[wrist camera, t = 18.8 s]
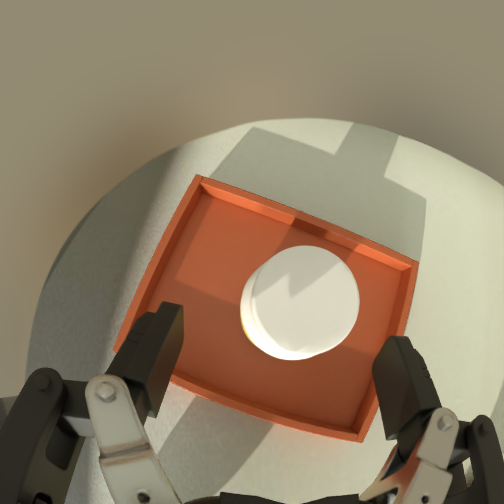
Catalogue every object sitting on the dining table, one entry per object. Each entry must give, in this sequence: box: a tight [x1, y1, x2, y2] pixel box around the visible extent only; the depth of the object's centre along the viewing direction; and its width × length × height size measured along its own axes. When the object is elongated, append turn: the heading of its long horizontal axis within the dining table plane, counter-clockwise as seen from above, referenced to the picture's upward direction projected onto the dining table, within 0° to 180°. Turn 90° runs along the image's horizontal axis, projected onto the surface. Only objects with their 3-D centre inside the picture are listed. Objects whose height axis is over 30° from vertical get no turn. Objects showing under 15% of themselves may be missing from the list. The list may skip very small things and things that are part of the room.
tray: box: [113, 174, 419, 443], centre depth 17 cm, size 17×13×2 cm
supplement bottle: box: [240, 246, 360, 360], centre depth 13 cm, size 5×5×8 cm
